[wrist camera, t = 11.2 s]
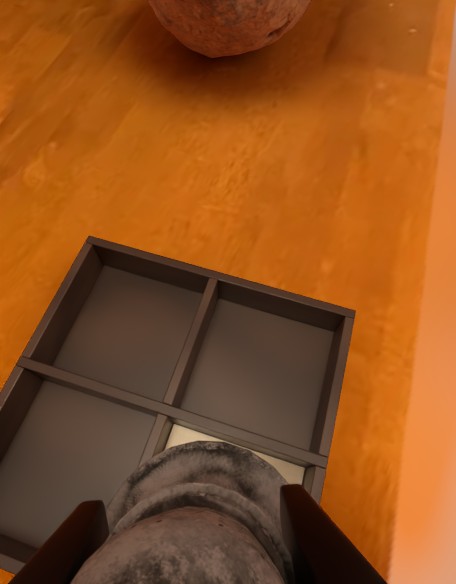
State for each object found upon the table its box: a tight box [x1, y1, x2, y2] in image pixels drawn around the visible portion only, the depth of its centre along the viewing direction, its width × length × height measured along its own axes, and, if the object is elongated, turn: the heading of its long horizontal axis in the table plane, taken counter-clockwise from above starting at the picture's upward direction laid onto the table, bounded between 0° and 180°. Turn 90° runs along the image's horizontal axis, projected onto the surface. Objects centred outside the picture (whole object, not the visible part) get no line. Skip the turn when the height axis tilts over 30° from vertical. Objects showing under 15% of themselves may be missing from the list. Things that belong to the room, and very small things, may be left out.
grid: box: [0, 236, 356, 575], centre depth 20 cm, size 16×16×3 cm
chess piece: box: [70, 440, 296, 584], centre depth 8 cm, size 6×6×12 cm
